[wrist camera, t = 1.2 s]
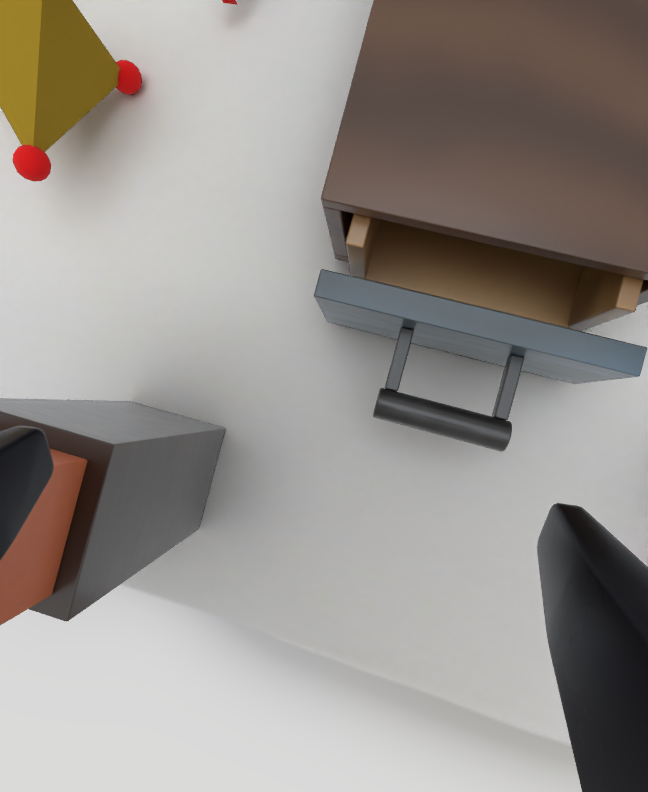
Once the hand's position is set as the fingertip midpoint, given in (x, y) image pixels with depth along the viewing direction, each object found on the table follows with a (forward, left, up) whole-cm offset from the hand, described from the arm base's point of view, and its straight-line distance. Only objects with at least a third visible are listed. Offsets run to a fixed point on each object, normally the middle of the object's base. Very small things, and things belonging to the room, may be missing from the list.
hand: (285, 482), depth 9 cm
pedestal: (-1, +11, -19) cm, 22 cm away
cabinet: (+16, -11, -19) cm, 27 cm away
